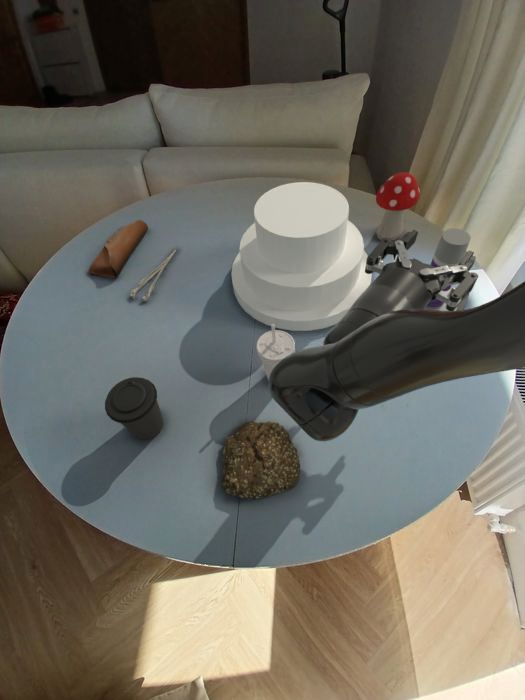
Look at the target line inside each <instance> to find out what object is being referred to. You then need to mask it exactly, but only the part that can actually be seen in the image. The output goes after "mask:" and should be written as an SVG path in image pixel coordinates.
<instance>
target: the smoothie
mask: <svg viewBox="0 0 525 700" xmlns="http://www.w3.org/2000/svg"><path fill="white" fill-rule="evenodd" d="M270 328H271V330H269V331H265V333H263V334H262V335H260V337H259V338H258V340H256V341H257V342H256V354H257V355H258V357H259V358H260V360H261V363H262V366H263V369H264V371H265V372H264V373H265V375H266V377H267V382H269V376H270V374H271V372H272V370H273V368H274V367H275V366H276V365H277V363H279V362H280V361H281V360H282V359H283V358H285V357H286V356H288V355H290V354H292V353H294V352H296V343H295V339H294V337H292V335H291V334H289V333H288V332H286V331H284V330H281V329H279V330H278V329H276V327H275V324H271V326H270Z"/></svg>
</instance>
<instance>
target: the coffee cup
mask: <svg viewBox="0 0 525 700" xmlns="http://www.w3.org/2000/svg"><path fill="white" fill-rule="evenodd" d="M104 411H105V413H106V415H107V416H108V417H109V419H111V421H113V422H116V423H118V424H120V425H122V426H123V427H124V428H125V429H126V430H128V431H129V432H130V433H131V434H132V435H134V436H135V437H136V438H138V439H140V440H146V441H147V440H151V439H153V438H155V437H157V436H158V434H160V433H161V431H162V430H163V427H164V418H163V414H162V412H161V408H160V405H159V402H158V390H157V388H156V386H155V384H154V383H153V382H152V381H151V380H149V379H146V378H145V377H138V376H136V377H128V378H125V379H123V380H120V381H119V382H117V383H116V384H115V385H113V386H112V387H111V389H110V390H109V391H108V393H107V395H106V399H105V401H104Z"/></svg>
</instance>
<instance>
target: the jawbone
mask: <svg viewBox="0 0 525 700" xmlns="http://www.w3.org/2000/svg"><path fill="white" fill-rule="evenodd" d="M176 251H177V249H174V251H173V252H172V253H171V254H170V255H168V256H167V258H165V259H164V260H163V261H162V262H161V263H160V264H159V265H158V266H157V267H156V268H154V269H153V270H152V271H151V272H149V273H148V274H147V275H146V276H144V277H143V278H142V279H141V280H140V281H139V282H138V283H137V285H135V286H134V288H133V289H131V291H130V293H129V295H130V297H131V298H132V299H134V300H135V298H136V294H137V293H138V291H139V290H140V289H142V288H143V287H144V286H145V285H146V284H147V283H148V282H149V281H150V280H151V279H152V278H153V277H154V276H155V275H156V277H155V279H154V280H153V282H152V283H151V285H150V287H149V289H148V292H147V293H146V294H144V296H142V297H141V299H142V300H143V302H147V301H148V300H149V298H150V296H151V293H152V292H153V290H154V288H155V285H156V284H157V281H159V278H160V277H161V275H162V273H163V271H164V270H165V268H166V266H167V265H168V263H169V262H170V261H171V259H172V258H173V256H174V255H175V254H176Z"/></svg>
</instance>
